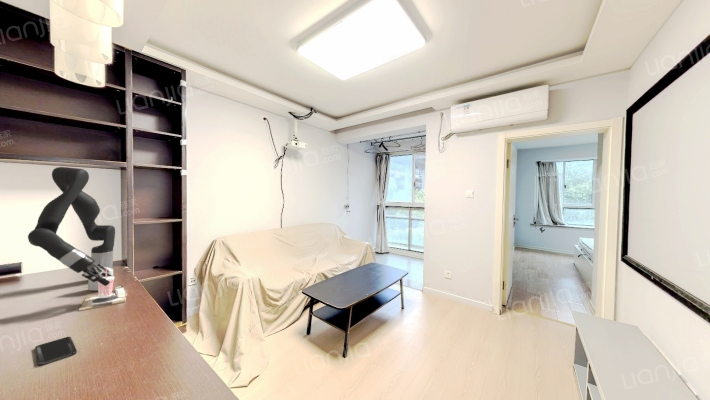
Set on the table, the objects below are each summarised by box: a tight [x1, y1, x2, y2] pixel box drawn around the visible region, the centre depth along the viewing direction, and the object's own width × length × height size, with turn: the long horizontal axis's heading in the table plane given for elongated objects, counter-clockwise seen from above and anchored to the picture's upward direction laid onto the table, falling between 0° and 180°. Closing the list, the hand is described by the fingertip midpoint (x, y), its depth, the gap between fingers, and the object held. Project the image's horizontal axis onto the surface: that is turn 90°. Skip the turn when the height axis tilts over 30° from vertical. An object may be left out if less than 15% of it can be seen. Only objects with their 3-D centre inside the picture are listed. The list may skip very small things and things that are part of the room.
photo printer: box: [87, 267, 114, 291], centre depth 132 cm, size 10×4×12 cm, turn 98°
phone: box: [34, 336, 78, 367], centre depth 80 cm, size 8×1×15 cm
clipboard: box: [78, 290, 129, 312], centre depth 119 cm, size 18×15×1 cm
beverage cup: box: [97, 268, 116, 298], centre depth 119 cm, size 6×6×14 cm
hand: (110, 282), depth 120 cm, fingers closed on beverage cup, 6 cm apart
